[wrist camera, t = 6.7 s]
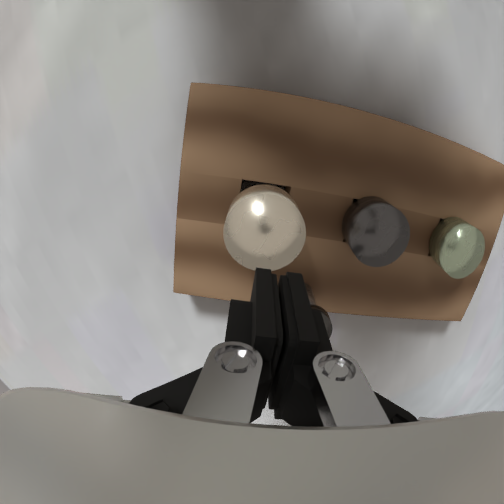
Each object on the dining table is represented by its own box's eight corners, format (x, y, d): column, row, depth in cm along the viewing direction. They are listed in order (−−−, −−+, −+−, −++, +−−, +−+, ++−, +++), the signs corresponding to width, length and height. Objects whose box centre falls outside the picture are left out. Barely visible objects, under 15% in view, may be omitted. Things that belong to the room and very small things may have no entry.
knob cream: (235, 171, 20) (228, 188, 16) (299, 181, 21) (313, 201, 16) (227, 232, 22) (219, 266, 17) (288, 240, 22) (296, 276, 18)
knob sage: (422, 202, 24) (455, 222, 19) (458, 211, 24) (491, 232, 19) (409, 248, 25) (436, 275, 21) (444, 254, 26) (473, 281, 21)
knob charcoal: (339, 182, 23) (360, 199, 18) (388, 193, 24) (417, 212, 19) (327, 234, 25) (343, 262, 20) (375, 242, 25) (398, 270, 20)
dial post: (284, 272, 24) (290, 310, 19) (323, 278, 24) (338, 315, 19) (276, 307, 25) (280, 348, 20) (314, 311, 25) (324, 351, 21)
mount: (198, 86, 21) (191, 82, 18) (495, 163, 22) (514, 170, 19) (181, 274, 27) (173, 292, 25) (448, 305, 29) (460, 321, 26)
